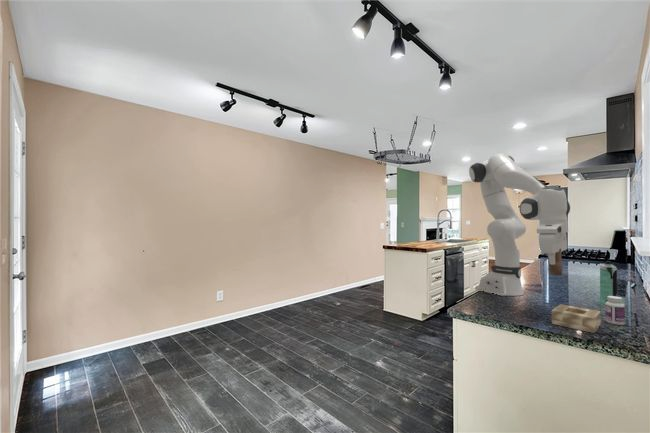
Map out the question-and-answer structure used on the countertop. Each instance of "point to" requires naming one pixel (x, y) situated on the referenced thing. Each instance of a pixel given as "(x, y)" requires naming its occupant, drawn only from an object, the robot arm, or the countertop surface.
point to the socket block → (576, 318)
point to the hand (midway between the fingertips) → (555, 263)
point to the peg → (556, 265)
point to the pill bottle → (615, 310)
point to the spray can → (607, 282)
